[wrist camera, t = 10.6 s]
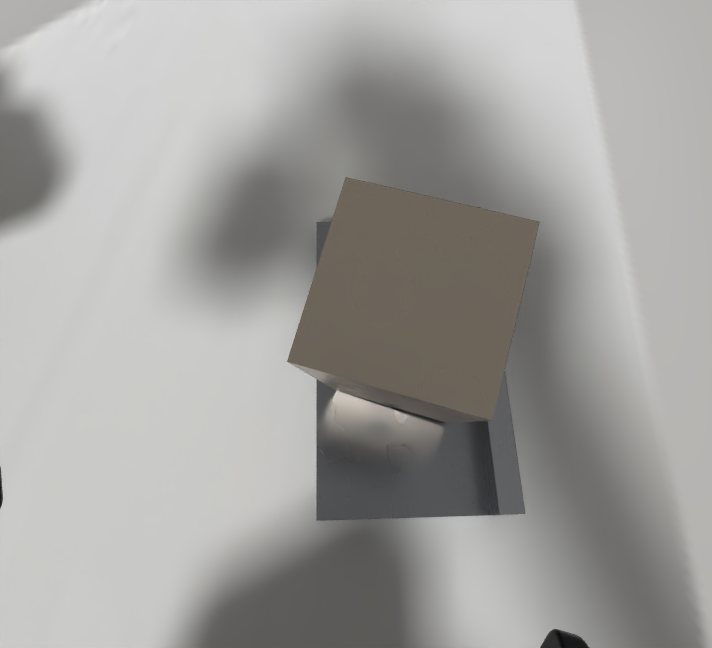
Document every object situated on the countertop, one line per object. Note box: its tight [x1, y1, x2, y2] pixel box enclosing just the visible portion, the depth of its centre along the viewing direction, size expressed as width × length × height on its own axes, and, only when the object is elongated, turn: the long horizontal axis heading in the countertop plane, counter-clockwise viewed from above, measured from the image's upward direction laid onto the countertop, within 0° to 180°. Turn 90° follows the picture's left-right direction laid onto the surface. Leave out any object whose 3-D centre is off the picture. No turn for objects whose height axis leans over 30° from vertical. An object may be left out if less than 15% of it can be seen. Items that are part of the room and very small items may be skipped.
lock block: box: [287, 177, 539, 423], centre depth 17 cm, size 5×5×10 cm
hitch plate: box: [317, 207, 525, 521], centre depth 22 cm, size 14×8×2 cm, turn 2°
